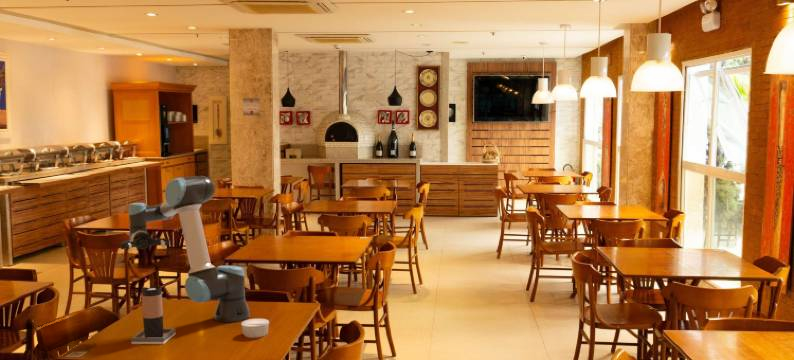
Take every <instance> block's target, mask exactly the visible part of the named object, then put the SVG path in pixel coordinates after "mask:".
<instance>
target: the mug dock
mask: <svg viewBox="0 0 794 360" xmlns="http://www.w3.org/2000/svg"><path fill="white" fill-rule="evenodd" d="M176 334H177V332H176V328H163V337H145V335H144V329H142V330H141V331H139V332H138V333H137V334H135V335H134V336H132V337H131V338H130V339H131V340H130V341H131V345H164V344H166V343H167V342H168V341H169V340H171V339H172V338H174V336H175V335H176Z"/></svg>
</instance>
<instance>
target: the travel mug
mask: <svg viewBox="0 0 794 360" xmlns="http://www.w3.org/2000/svg"><path fill="white" fill-rule="evenodd" d="M162 293H163V291H162V286H158V285H153V286H151V287H142V288H141V306H142V322H143V324H142V325H143V330H144V335H145V337H163V329H164V312H163V311H164V310H163V295H162Z"/></svg>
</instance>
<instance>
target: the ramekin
mask: <svg viewBox="0 0 794 360" xmlns="http://www.w3.org/2000/svg"><path fill="white" fill-rule="evenodd" d="M240 325H241V329H242V333H243V336H244V337H246V338H248V339H249V338H251V339H256V338H262V337H265V336H267V334H268V332H269V326H270V321H269V320H268V319H267V318H248V319H245V320H242V322H241V323H240Z"/></svg>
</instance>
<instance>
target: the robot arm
mask: <svg viewBox="0 0 794 360" xmlns="http://www.w3.org/2000/svg"><path fill="white" fill-rule="evenodd" d="M164 190H165V191H164V198H165V201H162V203H159V204H156V205H147V204H146V203H145V202H135V203H134V202H133V203H130V204H129V206H128V220H129V221H128V222H129V233H128V236H129V237H128V238H129V239H126V240H125V241H123V242H121V243H120V250H124V249H125V251H127V252H128V251H129V252H133V248H137V249H139V250H144V249H145V250H146V249H147V248H149V247H152V246H160V247H161V248H162V249H166V246H170V239H169V238H165V237H163V238H162V237H157V236H156V237H155V238H154V237H151V236H150V235H149V234H148V229H147V227H148V226H147V225H148V224H147V223H152V222H159V221H167V220H171V219H173V218H174V217H175V215H176V214H178V216H179V221H180V227H181V229H182V231H181V232H182V235H183V240H184V244H185V248H186V249H185V250H186V253H187V258H188V262H189V267H190V269H189V271H188V272H187V275H188V277H187V278H186V279H185V283H184V289H185V292H186V295H187V296H188V298H189V299H190V300H191V301H193V302H194V303H196V304H197V303H198V304H199V303H207V302H209V301H213V300H217V299H218V300H217V301H218V302H217V306H216V308H215V311H214V320H215V321H216V322H222V323H234V322H240V321H246V320H248V319H250V317H251V313H250V312H251V311H250V308H249V305H248V303H247V301H246V289H245V286H246V284H245V277H246V275H245V269H244V267H242V266H238V265H218V266H217V267H216V266H215V265H214V264H212V263H211V262H212V261H211V258H210V254H209V250H208V249H209V248H208V245H207V241H206V236H205V235H206V234H205V231H204V230H205V229H204V226H203V222H202V217H201V212H200V208H202V204H204V203H206V202H208V201H210V200H211V199H213V198H214V196H215V195H216V185H215V183H214V181H213V180H212V179H211V178H210V177H207V176H204V175H197V176H196V175H195V176H194V175H193V176H183V177H180V176H179V177H176V178H172V179H170V180H169V181H168V182H167V184H166V186H165V189H164Z"/></svg>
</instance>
